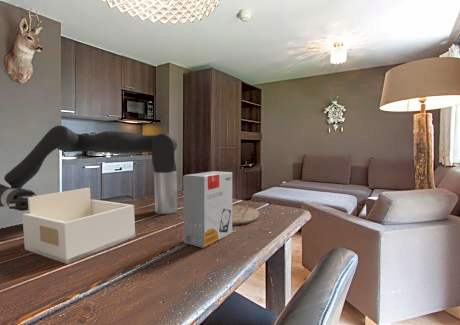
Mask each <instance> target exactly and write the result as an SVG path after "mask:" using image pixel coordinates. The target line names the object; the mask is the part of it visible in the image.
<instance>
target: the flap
mask: <svg viewBox="0 0 460 325" xmlns="http://www.w3.org/2000/svg"><path fill="white" fill-rule="evenodd" d="M91 200H92V199H91V188H90V187H84V188H79V189H77V188H76V189H73V190H71V189H70V190H66V191H58V192H52V193H46V194H40V195H37V196H33V197H28V210H27V211H28V214H32V215H37V216H42V217H46V218H51V219H55V220H60V221H64V222H68V221H72V220H76V219H80V218H83V217H87V216H91Z"/></svg>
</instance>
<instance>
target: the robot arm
mask: <svg viewBox="0 0 460 325" xmlns="http://www.w3.org/2000/svg"><path fill="white" fill-rule="evenodd" d="M177 148H178V142H177V139H176V138H175V137H174V136H172V135H171V134H168V133H158V134H156V135H155V134H154V135H153V134H152V135H151V134H150V135H147V134H140V133H139V134H138V133H134V132H133V133H132V132H126V131H117V130H116V131H113V130H108V131H100V132H98V133H95V134H81V133H77V132H74V131H73V130H71V129H70V128H68V127H67V126H65V125H55V126H54V127H52V128H51V129H49V130H48V132H46V134H44V136H43V137H42V138H41V140H40V141H38V143H37V144H36V145H35V146H34V147H33V148H32V150H31V151H30V152H29V153H28V154H27V155H26V156H25V157H24V158H23V159H22V160H21V161H20V162H19V163H18V164H16V166H14V167H13V168H12V169H10V171H9V172H7V173H6V174H5V176H4V177H3V180H4V181H5V183H7V184H8V185H9V186H10V187H9V186H6V185H5V184H2V183H0V208H2V207H6V208H8V209H9V210H16V211H20V212H21V211H22V212H26V211H29V210H28V197H33V196H38V195H37V194H36V193H35V192H34V191H33V190H31V189H26V188H23V187H24V186H25V185H26V184H27V183H28V182H29V181H30V180H32V179H33V178H34V177H35V176H36V175H37V173H38V172H39V171H40V169H41V168H42V165H43V164H44V162H45V159H46V158H47V157H48V156H49V155H50V154H51V153H52V152H54V151H55V150H59V151H62V152H65V153H72V152H73V153H75V152H77V153H78V152H95V153H109V154H133V153H151V161H152V166H153V179H154V180H153V181H154V182H153V184H154V210H155V214H158V215H169V214H174V213H178V186H177V184H178V182H177V180H178V179H177V165H176V159H175V151H176V150H177Z"/></svg>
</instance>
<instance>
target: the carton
mask: <svg viewBox="0 0 460 325" xmlns="http://www.w3.org/2000/svg"><path fill="white" fill-rule="evenodd" d="M135 220H136V219H135V205H134V204H128V203H122V202H121V203H120V202H113V201H107V200H101V199H91V216H87V217H83V218H80V219H76V220H72V221H68V222H64V221H60V220H55V219H51V218H46V217H42V216H37V215H32V214H29V212H28V213H26V212H25V213H22V226H23V227H22V228H23V239H24V240H23V241H24V242H23V244H24V250H26V251H29V252H31V253H34V254H37V255H41V256H43V257H45V258H49V259H51V260H55V261H56V262H60V263H64V264H66V265H67V264H68V265H69V264H70V263H73V262H75V261H78V260H80V259H83V258H85V257H88V256H90V255H93V254H95V253H98V252H100V251H102V250H105V249H107V248H110V247H113V246H115V245H118V244H120V243H123V242H125V241H128V240H130V239H133V238H135V237H136V223H135Z"/></svg>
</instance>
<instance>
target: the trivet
mask: <svg viewBox="0 0 460 325" xmlns="http://www.w3.org/2000/svg"><path fill="white" fill-rule="evenodd" d="M259 219H260V212H259V211H258V210H257V209H255V208H254V207H249V206H243V205H233V204H232V227H238V226H246V225H250V224H252V223H255V222H257V221H258V220H259Z"/></svg>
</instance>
